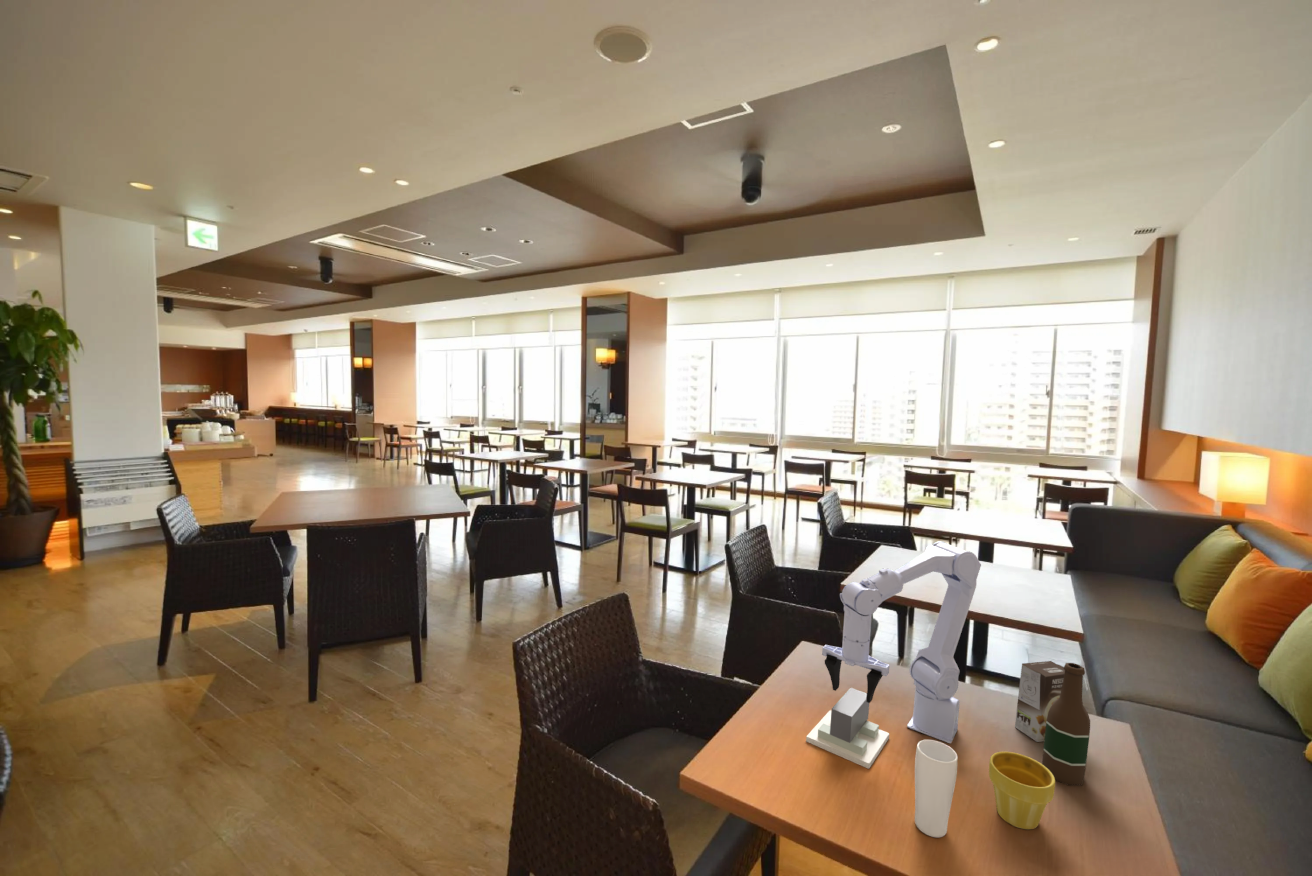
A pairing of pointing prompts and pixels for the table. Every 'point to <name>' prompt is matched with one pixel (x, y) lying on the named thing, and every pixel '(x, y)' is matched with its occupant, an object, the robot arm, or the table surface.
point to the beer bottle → (1068, 730)
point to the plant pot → (1020, 788)
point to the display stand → (858, 749)
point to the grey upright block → (849, 715)
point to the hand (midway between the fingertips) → (852, 694)
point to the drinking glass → (934, 786)
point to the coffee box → (1037, 696)
